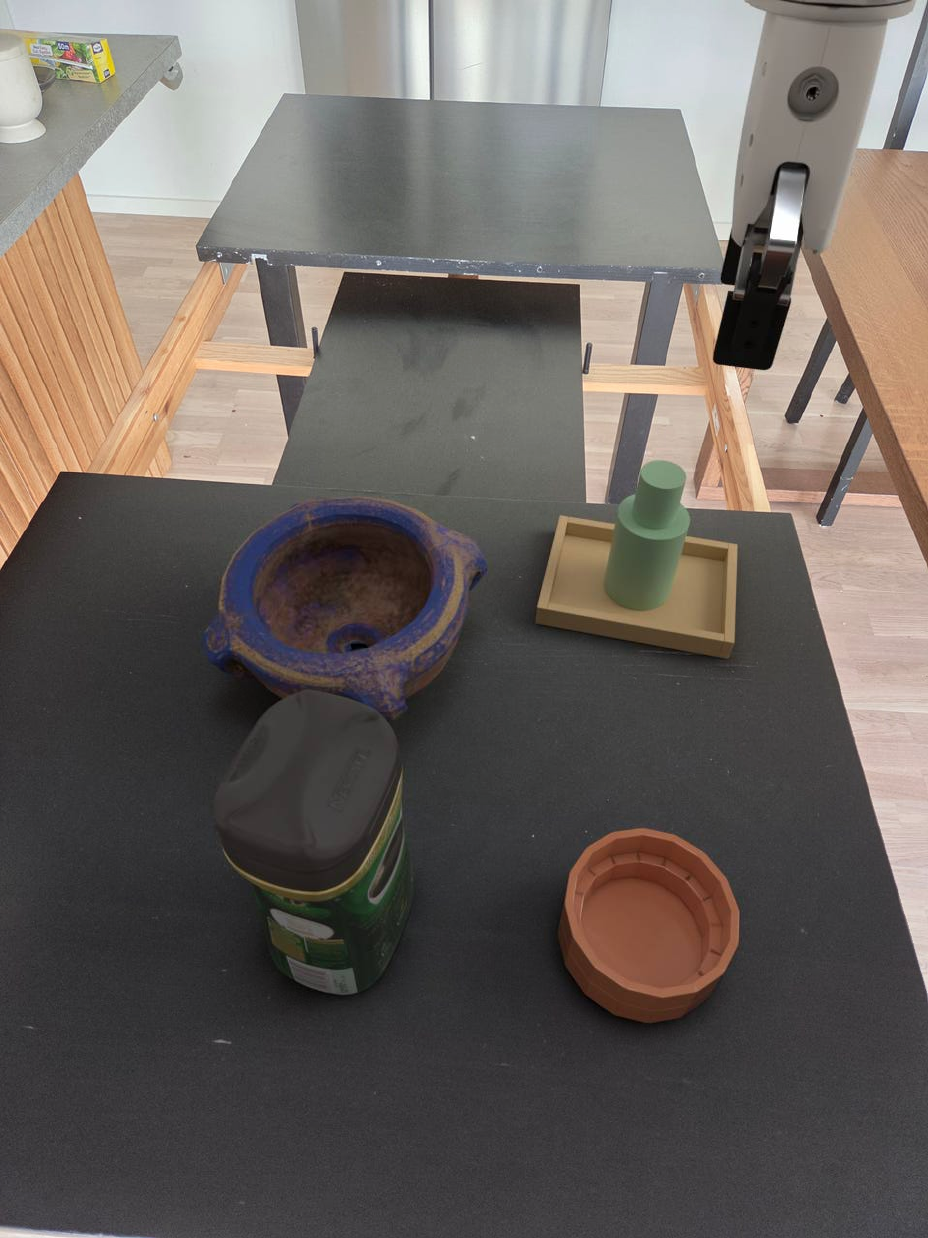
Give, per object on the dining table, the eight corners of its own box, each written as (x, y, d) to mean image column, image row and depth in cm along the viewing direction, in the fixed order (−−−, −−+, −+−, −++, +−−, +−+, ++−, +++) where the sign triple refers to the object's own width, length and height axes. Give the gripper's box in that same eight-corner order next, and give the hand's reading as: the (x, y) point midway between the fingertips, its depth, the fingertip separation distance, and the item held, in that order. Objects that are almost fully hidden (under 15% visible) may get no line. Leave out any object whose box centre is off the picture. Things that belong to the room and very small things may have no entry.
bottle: (672, 569, 73) (703, 457, 64) (667, 616, 69) (699, 503, 60) (608, 558, 74) (629, 446, 65) (599, 604, 70) (621, 491, 61)
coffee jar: (318, 833, 56) (274, 657, 43) (429, 868, 55) (421, 697, 41) (249, 973, 50) (173, 821, 36) (373, 1018, 49) (341, 875, 35)
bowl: (190, 700, 64) (155, 611, 56) (319, 553, 74) (304, 462, 67) (398, 793, 58) (390, 709, 51) (504, 621, 69) (510, 530, 62)
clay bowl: (721, 884, 54) (740, 848, 51) (715, 1044, 48) (737, 1016, 44) (570, 851, 56) (579, 813, 52) (545, 1001, 49) (553, 971, 46)
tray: (732, 560, 74) (737, 544, 73) (728, 659, 67) (734, 643, 65) (557, 531, 77) (559, 514, 75) (535, 623, 69) (536, 607, 68)
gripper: (953, 15, 31) (812, 411, 44) (906, -70, 42) (805, 265, 55) (745, 3, 32) (667, 392, 45) (753, -76, 44) (689, 252, 56)
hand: (743, 322), depth 50 cm, fingers open, 9 cm apart
